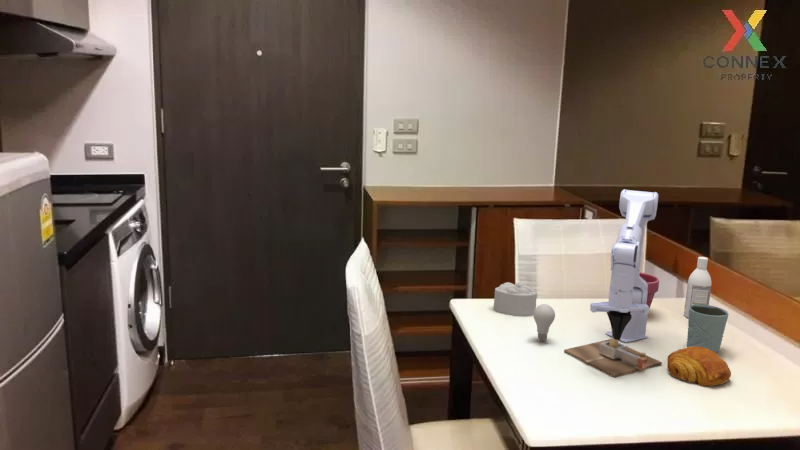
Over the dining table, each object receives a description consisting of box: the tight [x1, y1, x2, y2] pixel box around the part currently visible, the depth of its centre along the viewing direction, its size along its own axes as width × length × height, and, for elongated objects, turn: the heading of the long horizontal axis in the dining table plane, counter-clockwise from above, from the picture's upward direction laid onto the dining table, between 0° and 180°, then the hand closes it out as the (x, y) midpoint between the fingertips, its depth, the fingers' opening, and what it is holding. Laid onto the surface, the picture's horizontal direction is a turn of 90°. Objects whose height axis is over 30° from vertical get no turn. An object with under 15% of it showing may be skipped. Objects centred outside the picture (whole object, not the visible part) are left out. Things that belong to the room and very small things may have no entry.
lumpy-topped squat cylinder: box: [493, 281, 538, 317], centre depth 217 cm, size 10×13×9 cm
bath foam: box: [683, 256, 713, 319], centre depth 215 cm, size 7×7×20 cm
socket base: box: [563, 338, 663, 379], centre depth 181 cm, size 18×18×5 cm
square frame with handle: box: [599, 341, 647, 369], centre depth 178 cm, size 13×5×3 cm, turn 34°
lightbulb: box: [532, 303, 556, 342], centre depth 191 cm, size 6×6×11 cm
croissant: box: [666, 346, 732, 387], centre depth 172 cm, size 14×16×8 cm
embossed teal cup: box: [686, 304, 730, 355], centre depth 189 cm, size 10×10×12 cm
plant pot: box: [634, 272, 660, 310], centre depth 217 cm, size 14×14×13 cm
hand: (616, 338), depth 174 cm, fingers closed
